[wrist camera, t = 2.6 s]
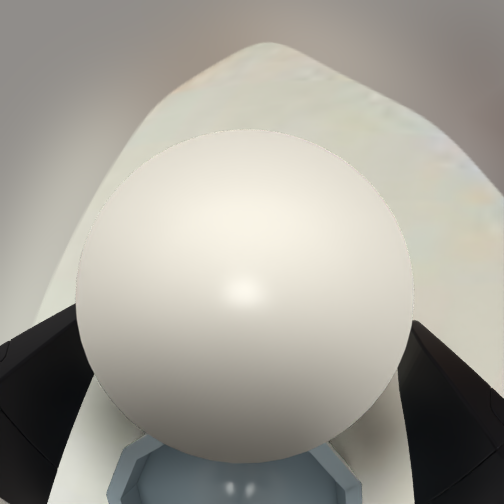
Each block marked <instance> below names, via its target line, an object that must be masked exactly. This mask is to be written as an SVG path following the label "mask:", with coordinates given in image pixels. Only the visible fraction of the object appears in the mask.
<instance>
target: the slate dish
mask: <svg viewBox="0 0 504 504" xmlns="http://www.w3.org/2000/svg"><path fill="white" fill-rule="evenodd" d="M106 495H107V499H108V502H109V504H362V484H361V482H360V481H359V480H358V478H357V477H356V475H355V474H354V473H353V471H352V470H351V468H350V467H349V466H348V464H347V463H346V462H345V460H344V459H343V458H342V457H341V456H340V455H339V453H338V452H337V451H336V450H335V449H334V448H333V447H332V445H331V444H330V443H329V442H328V441H327V442H326V443H323V444H321V445H319V446H317V447H315V448H313V449H311V450H309V451H307V452H304V453H301V454H297V455H294V456H291V457H288V458H285V459H280V460H274V461H268V462H261V463H228V462H219V461H212V460H207V459H204V458H200V457H196V456H193V455H189V454H186V453H184V452H181V451H179V450H177V449H174V448H172V447H170V446H167V445H165V444H164V443H162V442H160V441H158V440H157V439H155V438H154V437H152V436H150V435H149V434H147V433H146V434H145V435H143V436H142V437H140V438H139V439H137V440H136V441H134V442H133V443H131V444H130V445H128V446H126V447H125V448H124V449H123V451H122V454H121V456H120V459H119V461H118V464H117V467H116V469H115V472H114V474H113V477H112V479H111V482H110V485H109V487H108V490H107V494H106Z"/></svg>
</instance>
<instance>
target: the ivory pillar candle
mask: <svg viewBox="0 0 504 504" xmlns="http://www.w3.org/2000/svg"><path fill="white" fill-rule="evenodd" d="M75 300H76V314H77V323H78V328H79V333H80V338H81V342H82V345H83V348H84V351H85V354H86V356H87V359H88V362H89V364H90V366H91V368H92V370H93V372H94V374H95V376H96V378H97V380H98V382H99V383H100V385H101V386H102V388H103V389H104V391H105V392H106V393H107V395H108V396H109V398H110V399H111V400H112V402H113V403H114V404H115V405H116V406H117V407H118V408H119V409H120V410H121V411H122V413H123V414H124V415H125V416H126V417H127V418H128V419H130V420H131V421H132V422H133V423H134V424H136V425H137V426H138V427H139V428H140V429H142V430H143V431H144V432H146V433H147V434H149V435H150V436H152V437H154V438H155V439H157V440H158V441H160V442H162V443H164V444H165V445H167V446H170V447H172V448H174V449H177V450H179V451H181V452H184V453H186V454H189V455H193V456H196V457H200V458H204V459H207V460H212V461H219V462H228V463H261V462H268V461H274V460H280V459H285V458H288V457H291V456H294V455H297V454H301V453H304V452H307V451H309V450H311V449H313V448H315V447H317V446H319V445H321V444H323V443H326V442H327V441H329V440H331V439H333V438H334V437H336V436H337V435H339V434H340V433H342V432H343V431H344V430H346V429H347V428H349V427H350V426H351V425H352V424H354V423H355V422H356V421H357V420H358V419H359V418H360V417H361V416H362V415H363V414H364V413H366V412H367V411H368V410H369V409H370V407H371V406H372V405H373V404H374V402H375V401H376V400H377V399H378V398H379V396H380V395H381V394H382V393H383V391H384V390H385V388H386V387H387V385H388V383H389V382H390V380H391V378H392V377H393V375H394V373H395V372H396V370H397V367H398V365H399V363H400V360H401V358H402V356H403V353H404V351H405V348H406V345H407V341H408V337H409V334H410V330H411V326H412V318H413V310H414V278H413V272H412V265H411V259H410V255H409V252H408V249H407V245H406V242H405V239H404V236H403V234H402V232H401V229H400V227H399V225H398V223H397V220H396V218H395V216H394V215H393V213H392V212H391V210H390V208H389V207H388V205H387V203H386V202H385V200H384V199H383V198H382V196H381V195H380V194H379V193H378V191H377V190H376V189H375V188H374V187H373V185H372V184H371V183H370V182H369V181H368V180H367V179H366V178H365V177H364V176H363V175H362V174H361V173H360V172H359V171H357V170H356V169H355V168H354V167H353V166H351V165H350V164H349V163H347V162H346V161H345V160H343V159H342V158H340V157H339V156H337V155H336V154H334V153H332V152H330V151H329V150H327V149H325V148H323V147H321V146H319V145H317V144H314V143H312V142H310V141H307V140H305V139H302V138H299V137H295V136H292V135H288V134H284V133H279V132H273V131H266V130H251V129H239V130H227V131H219V132H214V133H209V134H204V135H201V136H198V137H194V138H191V139H188V140H185V141H183V142H180V143H178V144H176V145H174V146H172V147H169V148H167V149H165V150H164V151H162V152H160V153H159V154H157V155H155V156H154V157H152V158H150V159H149V160H147V161H146V162H145V163H144V164H142V165H141V166H140V167H138V168H137V169H136V170H135V171H133V172H132V173H131V174H130V175H129V176H128V177H127V178H126V179H125V180H124V181H123V182H122V183H121V184H120V185H119V186H118V187H117V189H116V190H115V191H114V192H113V194H112V195H111V196H110V197H109V199H108V200H107V201H106V203H105V204H104V206H103V207H102V209H101V211H100V212H99V214H98V215H97V217H96V219H95V221H94V223H93V225H92V227H91V229H90V231H89V234H88V236H87V238H86V241H85V244H84V248H83V251H82V254H81V257H80V262H79V267H78V273H77V280H76V297H75Z"/></svg>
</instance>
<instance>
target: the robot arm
mask: <svg viewBox="0 0 504 504" xmlns="http://www.w3.org/2000/svg"><path fill="white" fill-rule="evenodd" d="M397 369H398V381H399V391H400V397H401V402H402V408H403V414H404V419H405V426H406V432H407V439H408V446H409V453H410V461H411V469H412V478H413V489H414V500H415V504H504V398H503V397H501V396H500V395H499V394H498V393H497V392H496V391H495V390H494V389H493V388H491V386H490V385H489V384H488V383H487V382H486V381H484V380H483V379H482V378H481V377H480V376H479V375H478V374H477V373H476V372H475V371H474V370H473V369H472V368H470V367H469V366H468V365H467V364H466V363H465V362H464V361H463V360H462V359H461V358H459V357H458V356H457V355H456V354H455V353H454V352H453V351H452V350H451V349H449V348H448V347H447V346H446V345H445V344H444V343H443V342H442V341H440V340H439V339H438V338H437V337H436V336H435V335H434V334H432V333H431V332H430V331H429V330H428V329H427V328H426V327H424V326H423V325H422V324H421V323H420V322H418V321H416V320H412V326H411V330H410V334H409V337H408V341H407V345H406V348H405V351H404V353H403V356H402V358H401V360H400V363H399V365H398V367H397ZM93 376H94V372H93V370H92V368H91V366H90V364H89V362H88V359H87V356H86V354H85V351H84V348H83V345H82V342H81V338H80V333H79V328H78V323H77V314H76V303H75V304H73V305H72V306H70V307H68V308H66V309H64V310H62V311H61V312H59V313H57V314H55V315H53V316H52V317H50V318H48V319H46V320H44V321H43V322H41V323H39V324H37V325H36V326H34V327H32V328H30V329H28V330H27V331H25V332H23V333H21V334H20V335H18V336H16V337H15V338H13V339H11V341H7V342H6V343H4V344H2V345H1V346H0V504H47V502H48V499H49V495H50V492H51V489H52V486H53V483H54V479H55V476H56V473H57V470H58V467H59V464H60V461H61V458H62V455H63V452H64V449H65V446H66V444H67V441H68V438H69V436H70V433H71V430H72V427H73V425H74V422H75V420H76V417H77V415H78V412H79V409H80V407H81V404H82V402H83V399H84V397H85V395H86V392H87V390H88V387H89V385H90V383H91V380H92V378H93Z"/></svg>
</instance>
